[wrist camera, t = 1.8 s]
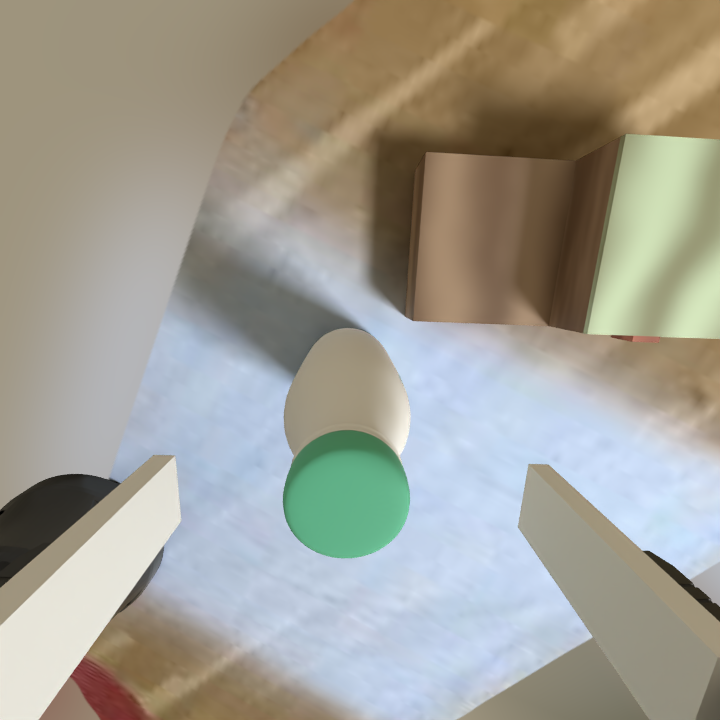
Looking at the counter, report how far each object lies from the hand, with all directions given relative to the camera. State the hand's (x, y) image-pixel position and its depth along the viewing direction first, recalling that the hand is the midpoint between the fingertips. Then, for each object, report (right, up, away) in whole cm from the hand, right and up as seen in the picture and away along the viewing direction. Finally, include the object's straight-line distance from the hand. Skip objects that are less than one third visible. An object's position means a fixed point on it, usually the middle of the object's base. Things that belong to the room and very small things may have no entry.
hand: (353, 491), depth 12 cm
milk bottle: (-1, +4, +19) cm, 19 cm away
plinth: (+16, +14, +17) cm, 27 cm away
